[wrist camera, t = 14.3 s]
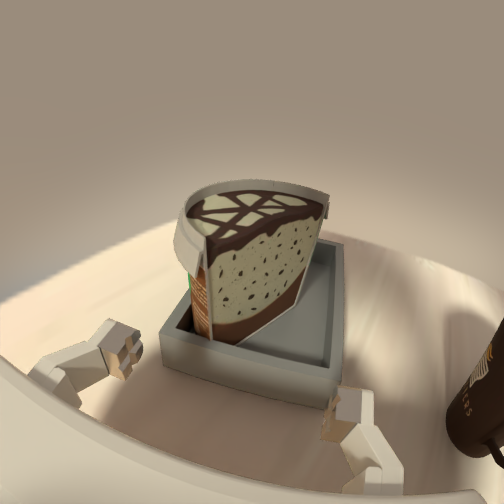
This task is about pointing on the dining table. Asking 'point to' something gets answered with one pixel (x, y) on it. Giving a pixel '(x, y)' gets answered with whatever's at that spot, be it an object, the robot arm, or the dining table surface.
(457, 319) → the dining table surface
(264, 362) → the bin
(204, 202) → the ice cream cake half
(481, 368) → the coffee mug
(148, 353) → the dining table surface
